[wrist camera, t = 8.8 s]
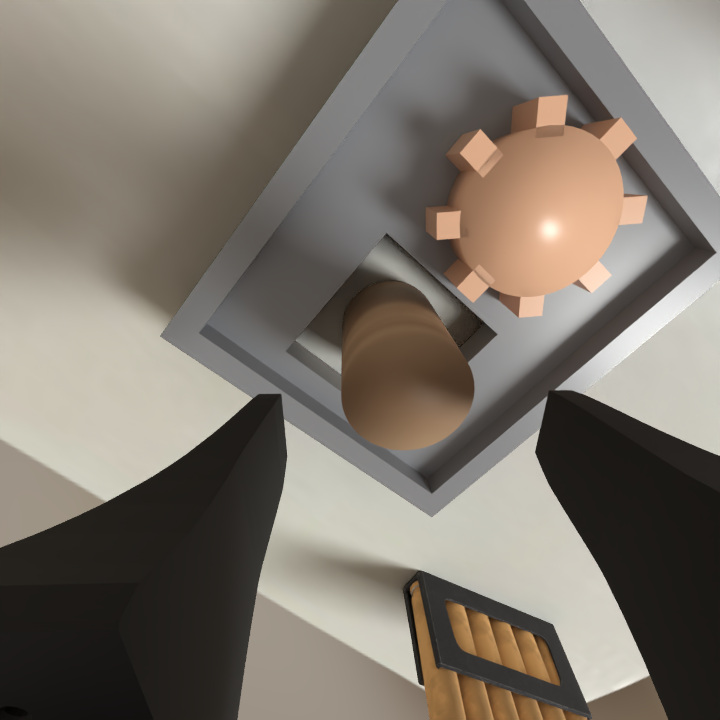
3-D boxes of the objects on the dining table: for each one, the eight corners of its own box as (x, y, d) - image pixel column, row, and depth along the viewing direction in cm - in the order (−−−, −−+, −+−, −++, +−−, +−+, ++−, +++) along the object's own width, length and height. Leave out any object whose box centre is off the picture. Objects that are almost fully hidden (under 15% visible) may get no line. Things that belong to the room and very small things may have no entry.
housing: (462, -74, 12) (501, -156, 9) (701, 238, 17) (785, 254, 13) (184, 314, 17) (147, 347, 14) (422, 480, 21) (436, 534, 18)
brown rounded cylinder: (337, 285, 17) (334, 340, 12) (434, 276, 17) (476, 327, 12) (347, 371, 19) (347, 455, 13) (435, 364, 19) (472, 444, 13)
